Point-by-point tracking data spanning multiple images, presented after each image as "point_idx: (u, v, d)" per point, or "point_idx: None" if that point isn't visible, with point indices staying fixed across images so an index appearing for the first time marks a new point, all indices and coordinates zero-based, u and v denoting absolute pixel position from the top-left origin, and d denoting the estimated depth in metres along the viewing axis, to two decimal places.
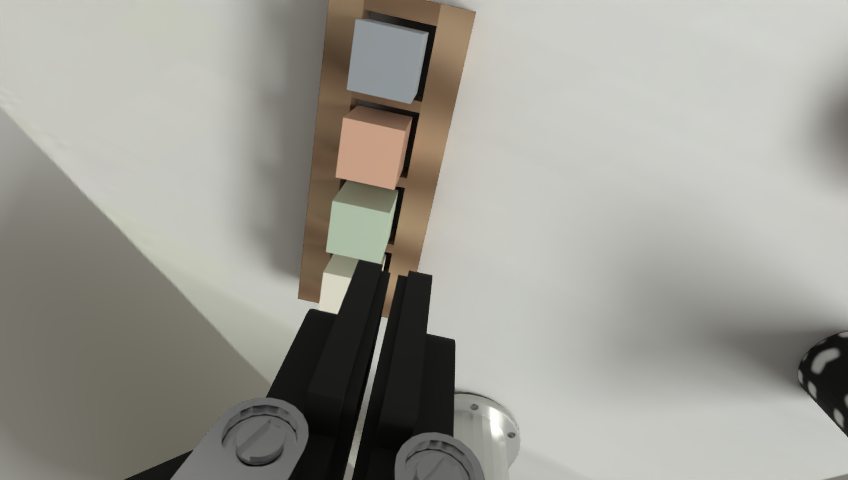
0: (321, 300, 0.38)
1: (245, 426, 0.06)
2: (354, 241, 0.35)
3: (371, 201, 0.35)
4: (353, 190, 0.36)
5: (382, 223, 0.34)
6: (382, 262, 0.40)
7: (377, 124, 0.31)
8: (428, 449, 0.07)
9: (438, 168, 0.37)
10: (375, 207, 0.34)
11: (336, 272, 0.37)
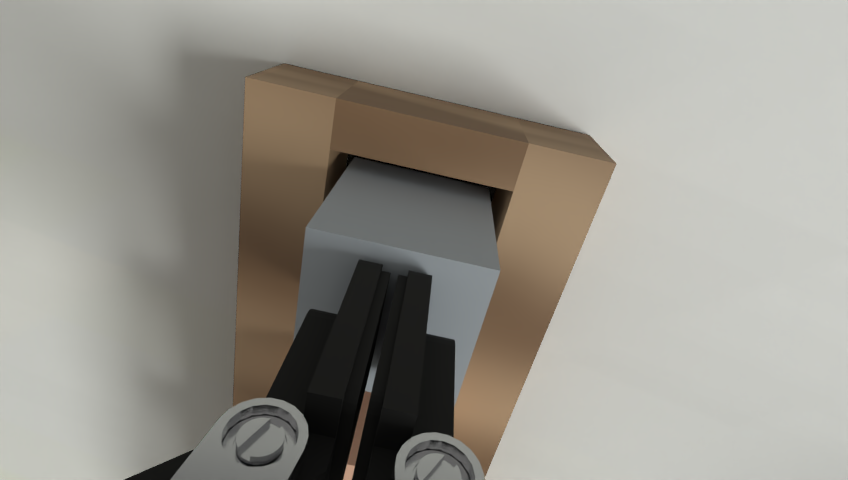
0: None
1: (245, 426, 0.06)
2: None
3: None
4: None
5: None
6: None
7: None
8: (428, 449, 0.07)
9: (494, 445, 0.18)
10: None
11: None
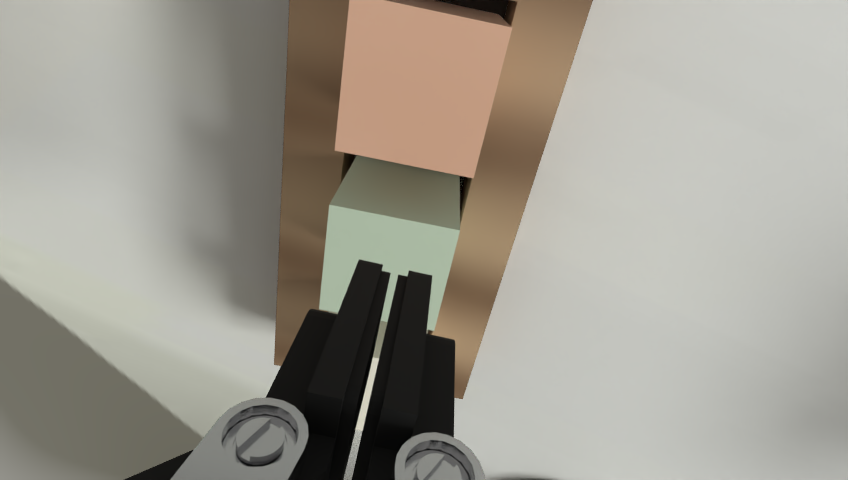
0: None
1: (245, 426, 0.06)
2: None
3: (413, 200, 0.16)
4: (371, 177, 0.17)
5: (442, 252, 0.15)
6: None
7: (439, 11, 0.12)
8: (428, 449, 0.07)
9: (547, 127, 0.18)
10: (424, 216, 0.15)
11: None
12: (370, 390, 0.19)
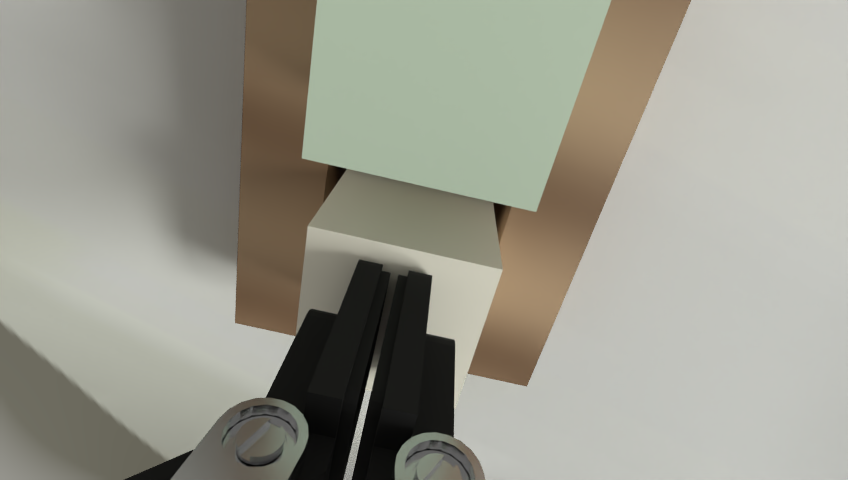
0: None
1: (245, 426, 0.06)
2: (431, 106, 0.08)
3: None
4: None
5: (581, 4, 0.07)
6: (489, 205, 0.13)
7: None
8: (428, 449, 0.07)
9: None
10: None
11: (355, 227, 0.10)
12: None
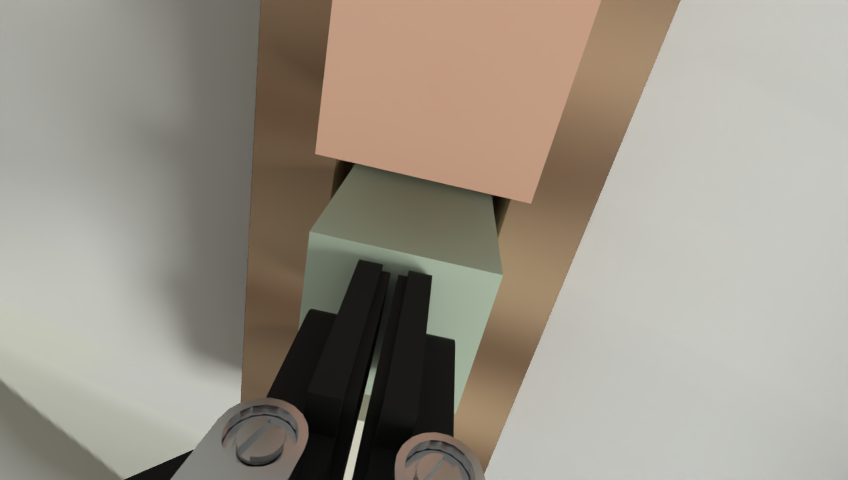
0: None
1: (245, 426, 0.06)
2: None
3: (433, 227, 0.11)
4: (374, 193, 0.13)
5: (474, 306, 0.11)
6: None
7: None
8: (428, 449, 0.07)
9: (619, 134, 0.13)
10: (450, 252, 0.10)
11: None
12: None
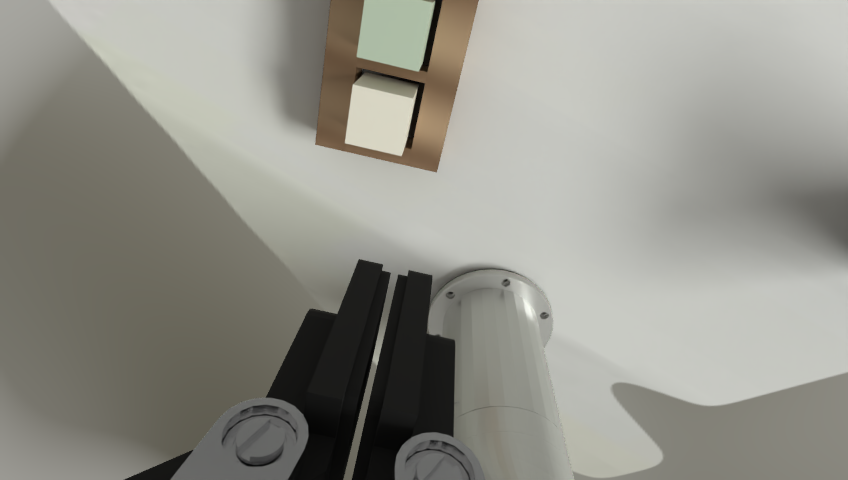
0: (349, 121, 0.33)
1: (245, 426, 0.06)
2: (389, 42, 0.31)
3: None
4: None
5: (423, 17, 0.30)
6: (415, 88, 0.35)
7: None
8: (428, 449, 0.07)
9: None
10: None
11: (367, 86, 0.33)
12: (382, 117, 0.33)
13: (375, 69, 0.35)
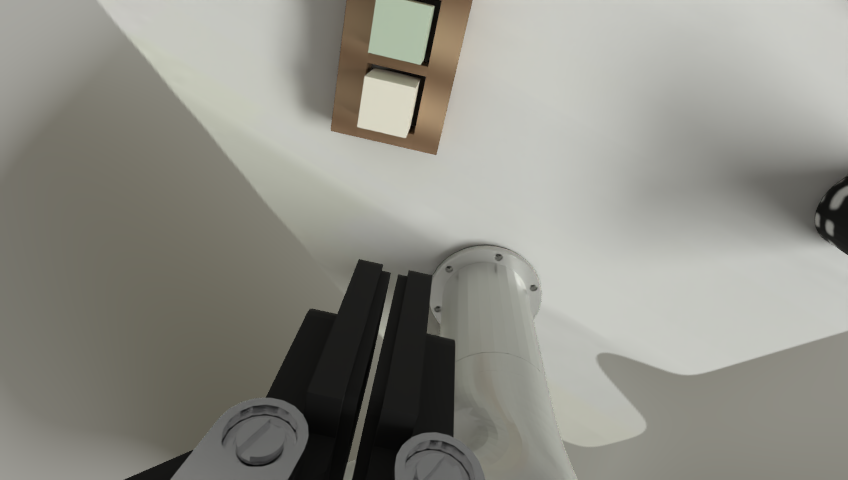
0: (361, 108, 0.39)
1: (245, 426, 0.06)
2: (396, 40, 0.37)
3: (412, 1, 0.37)
4: None
5: (424, 19, 0.36)
6: (418, 80, 0.41)
7: None
8: (428, 449, 0.07)
9: None
10: (417, 2, 0.36)
11: (376, 77, 0.38)
12: (389, 104, 0.39)
13: (383, 64, 0.41)
